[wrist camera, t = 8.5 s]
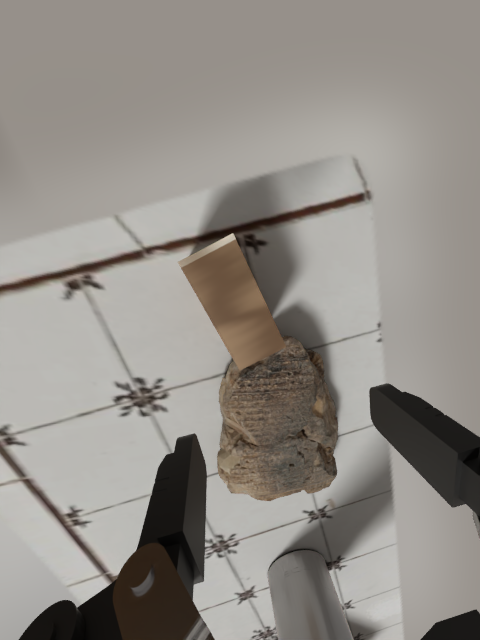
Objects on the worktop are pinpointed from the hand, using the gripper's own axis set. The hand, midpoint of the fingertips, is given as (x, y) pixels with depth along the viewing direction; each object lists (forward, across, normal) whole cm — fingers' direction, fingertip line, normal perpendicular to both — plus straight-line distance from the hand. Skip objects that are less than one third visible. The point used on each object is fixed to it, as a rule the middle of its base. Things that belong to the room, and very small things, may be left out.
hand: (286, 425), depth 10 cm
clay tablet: (+14, -2, +10) cm, 17 cm away
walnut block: (+10, 0, 0) cm, 10 cm away
